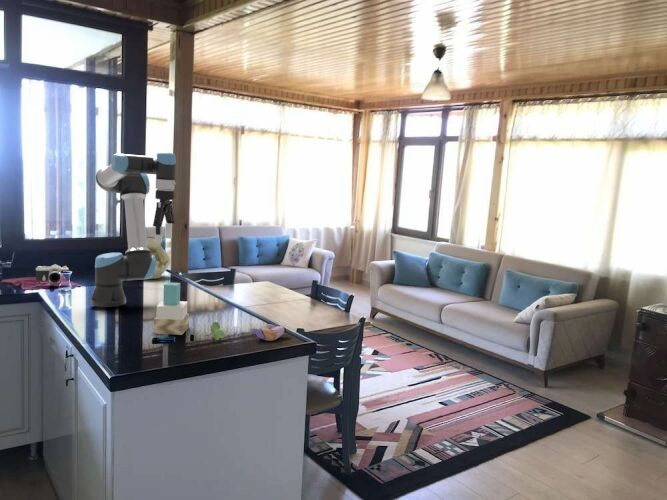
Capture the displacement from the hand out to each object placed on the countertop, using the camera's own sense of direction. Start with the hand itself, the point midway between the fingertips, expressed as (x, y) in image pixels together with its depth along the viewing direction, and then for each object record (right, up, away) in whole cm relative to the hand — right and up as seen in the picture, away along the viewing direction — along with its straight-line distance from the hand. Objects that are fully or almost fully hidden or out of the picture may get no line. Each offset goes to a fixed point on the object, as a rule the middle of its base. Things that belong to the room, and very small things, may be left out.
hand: (163, 240), depth 228 cm
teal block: (+8, -25, -15) cm, 30 cm away
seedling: (+22, -38, -19) cm, 48 cm away
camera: (-79, -22, +60) cm, 101 cm away
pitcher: (-38, -20, +91) cm, 100 cm away
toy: (+41, -36, -22) cm, 59 cm away
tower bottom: (+8, -36, -13) cm, 39 cm away
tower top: (+8, -30, -14) cm, 34 cm away
